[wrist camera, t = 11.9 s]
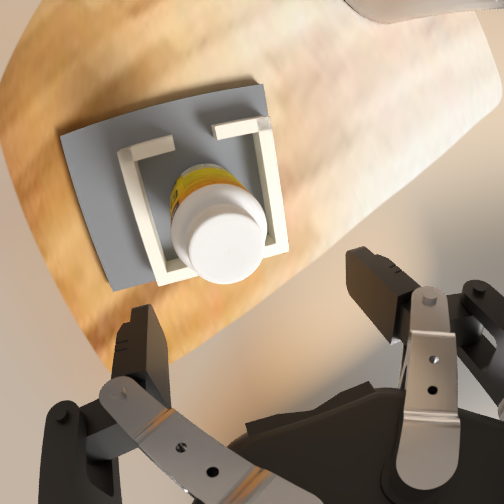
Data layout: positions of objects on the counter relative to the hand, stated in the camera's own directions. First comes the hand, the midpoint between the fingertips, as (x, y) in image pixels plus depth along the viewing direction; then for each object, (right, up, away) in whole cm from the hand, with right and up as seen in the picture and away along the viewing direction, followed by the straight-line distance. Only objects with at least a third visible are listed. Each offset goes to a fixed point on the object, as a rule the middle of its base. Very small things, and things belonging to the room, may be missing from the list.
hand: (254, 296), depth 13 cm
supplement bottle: (-4, +6, +13) cm, 15 cm away
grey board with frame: (-6, +7, +13) cm, 16 cm away
